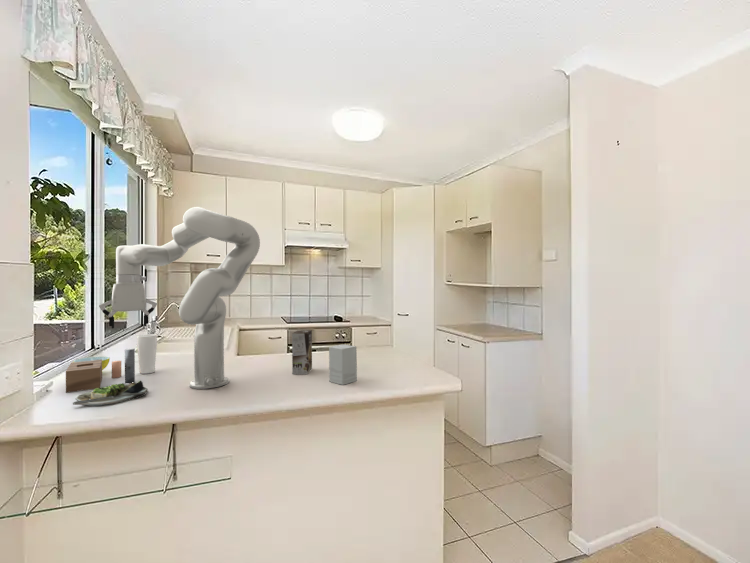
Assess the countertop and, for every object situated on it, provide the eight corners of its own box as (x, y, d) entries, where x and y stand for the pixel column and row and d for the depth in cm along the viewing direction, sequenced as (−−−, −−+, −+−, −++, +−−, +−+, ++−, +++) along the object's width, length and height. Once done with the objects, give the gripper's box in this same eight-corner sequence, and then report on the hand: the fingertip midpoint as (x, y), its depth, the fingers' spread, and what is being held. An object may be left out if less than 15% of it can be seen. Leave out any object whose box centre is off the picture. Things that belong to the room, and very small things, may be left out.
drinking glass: (161, 370, 147) (160, 334, 147) (149, 374, 141) (148, 336, 141) (145, 370, 148) (145, 333, 148) (133, 374, 141) (132, 336, 141)
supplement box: (357, 381, 130) (357, 346, 130) (342, 385, 125) (342, 349, 125) (343, 377, 135) (343, 343, 135) (328, 381, 130) (328, 346, 130)
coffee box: (308, 374, 140) (308, 333, 140) (291, 374, 140) (291, 333, 140) (312, 368, 149) (312, 329, 149) (297, 368, 149) (296, 329, 149)
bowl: (116, 371, 147) (116, 356, 147) (95, 378, 136) (95, 362, 136) (88, 371, 147) (88, 356, 147) (65, 379, 135) (64, 362, 135)
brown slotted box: (100, 387, 124) (99, 367, 124) (65, 392, 118) (65, 371, 118) (102, 377, 137) (102, 359, 137) (71, 381, 132) (71, 362, 132)
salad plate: (86, 414, 99) (86, 398, 99) (57, 404, 108) (57, 389, 108) (157, 395, 116) (157, 380, 116) (127, 387, 125) (127, 374, 125)
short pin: (121, 377, 137) (121, 361, 137) (111, 378, 136) (111, 362, 136) (121, 375, 140) (121, 360, 140) (111, 376, 138) (111, 361, 138)
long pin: (134, 382, 130) (134, 349, 130) (124, 384, 128) (124, 350, 128) (134, 380, 132) (134, 348, 132) (124, 382, 131) (124, 349, 131)
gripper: (155, 279, 138) (156, 324, 138) (99, 280, 128) (99, 327, 128) (157, 279, 132) (157, 326, 132) (98, 279, 122) (98, 330, 122)
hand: (129, 327), depth 130 cm, fingers open, 9 cm apart
